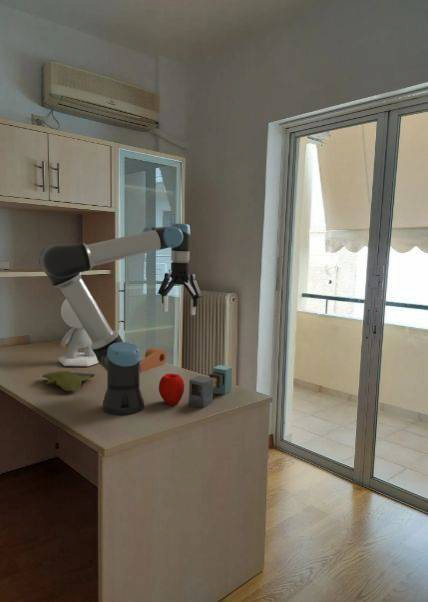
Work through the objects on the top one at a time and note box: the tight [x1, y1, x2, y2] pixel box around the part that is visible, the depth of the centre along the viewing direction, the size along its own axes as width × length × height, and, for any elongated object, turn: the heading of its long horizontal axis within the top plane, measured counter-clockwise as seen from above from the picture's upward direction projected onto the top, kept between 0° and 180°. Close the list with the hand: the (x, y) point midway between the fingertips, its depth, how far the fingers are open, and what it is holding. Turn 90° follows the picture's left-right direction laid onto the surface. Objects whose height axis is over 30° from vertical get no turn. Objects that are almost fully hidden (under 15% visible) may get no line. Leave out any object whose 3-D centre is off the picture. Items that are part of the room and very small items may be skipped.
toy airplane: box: [41, 370, 95, 392], centre depth 192 cm, size 28×22×5 cm
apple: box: [158, 373, 185, 406], centre depth 170 cm, size 10×10×12 cm
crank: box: [140, 347, 168, 373], centre depth 223 cm, size 20×8×8 cm, turn 148°
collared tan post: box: [199, 372, 224, 391], centre depth 178 cm, size 16×5×5 cm, turn 151°
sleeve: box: [188, 375, 214, 409], centre depth 170 cm, size 7×6×10 cm
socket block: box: [212, 364, 233, 396], centre depth 185 cm, size 6×6×11 cm
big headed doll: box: [57, 298, 99, 367], centre depth 227 cm, size 20×23×35 cm
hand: (179, 313), depth 185 cm, fingers open, 13 cm apart
